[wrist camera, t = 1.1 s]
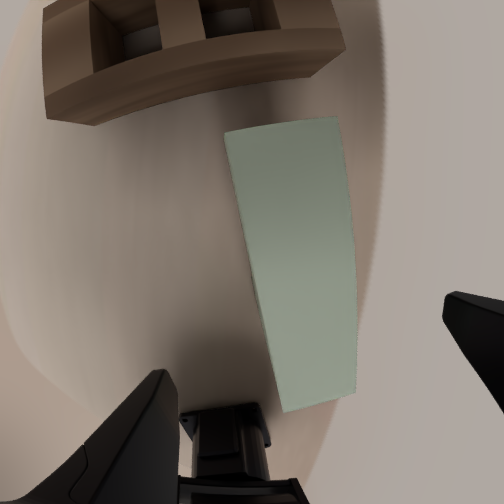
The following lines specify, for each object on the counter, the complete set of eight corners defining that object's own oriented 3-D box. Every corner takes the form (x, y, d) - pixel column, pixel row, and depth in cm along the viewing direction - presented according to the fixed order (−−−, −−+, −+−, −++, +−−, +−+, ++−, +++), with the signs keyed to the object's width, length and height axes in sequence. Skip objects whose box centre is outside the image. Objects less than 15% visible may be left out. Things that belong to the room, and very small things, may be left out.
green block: (306, 301, 18) (355, 392, 10) (259, 312, 18) (283, 413, 10) (279, 134, 14) (336, 116, 7) (223, 144, 14) (224, 132, 7)
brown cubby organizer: (310, 77, 14) (346, 49, 9) (94, 126, 13) (46, 118, 8) (286, -9, 11) (308, -54, 7) (83, 38, 11) (43, 8, 6)
